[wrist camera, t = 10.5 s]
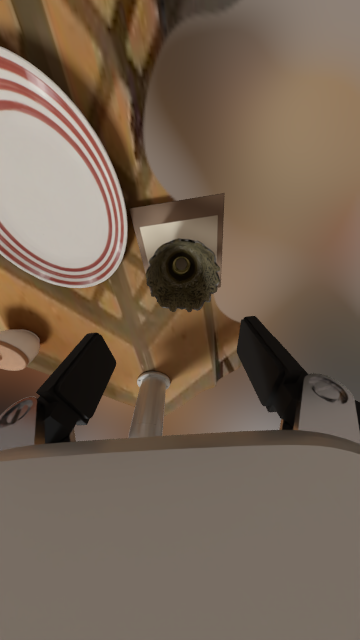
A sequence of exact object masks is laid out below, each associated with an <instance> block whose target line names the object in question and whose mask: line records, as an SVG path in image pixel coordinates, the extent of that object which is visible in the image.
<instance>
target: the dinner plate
mask: <svg viewBox="0 0 360 640" xmlns="http://www.w3.org/2000/svg"><path fill="white" fill-rule="evenodd" d="M127 236H128V221H127V212H126V206H125V201H124V197H123V193H122V189H121V186H120V183H119V180H118V177H117V174H116V172H115V169H114V167H113V165H112V162H111V160H110V158H109V156H108V154H107V152H106V150H105V148H104V146H103V144H102V142H101V141H100V139H99V137H98V136H97V134H96V132H95V131H94V129H93V128H92V126H91V125H90V123H89V122H88V120H87V119H86V118H85V116H84V115H83V114H82V112H81V111H80V110H79V109H78V107H77V106H76V105H75V104H74V103H73V102H72V100H71V99H70V98H69V97H68V96H67V95H66V94H65V93H64V92H63V91H62V90H61V88H60V87H59V86H58V85H57V84H55V83H54V82H53V81H52V80H51V79H50V78H49V77H48V76H47V75H45V74H44V73H43V72H42V71H40V70H39V69H38V68H36V67H35V66H34V65H32V64H31V63H30V62H28V61H27V60H25V59H23V58H22V57H20V56H19V55H17V54H15V53H13V52H11V51H9V50H8V49H5V48H3V47H1V46H0V254H1V255H2V256H4V257H5V258H6V259H8V260H9V261H10V262H12V263H13V264H14V265H16V266H17V267H19V268H21V269H22V270H24V271H26V272H27V273H29V274H31V275H33V276H35V277H37V278H39V279H41V280H44V281H46V282H49V283H52V284H55V285H59V286H63V287H69V288H85V287H90V286H94V285H97V284H99V283H101V282H103V281H105V280H106V279H108V278H109V277H110V276H111V275H112V274H113V273H114V272H115V271H116V269H117V268H118V266H119V265H120V263H121V261H122V259H123V256H124V253H125V249H126V244H127Z"/></svg>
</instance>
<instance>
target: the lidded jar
mask: <svg viewBox="0 0 360 640" xmlns="http://www.w3.org/2000/svg"><path fill="white" fill-rule="evenodd" d="M39 349H40V339H39V337H38V336H37V335H36V334H34V333H33V332H31V331H28V330H25V329H19V330H18V329H11V330H5V331H1V332H0V368H1V369H5V370H13V371H14V370H15V371H16V370H21V369H24V368H25V367H26V366H27V365H28V364H29V363H30V362H31V361H32V360H33V359H34V358H35V356H36V355H37V354H38V352H39Z"/></svg>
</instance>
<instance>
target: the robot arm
mask: <svg viewBox="0 0 360 640" xmlns="http://www.w3.org/2000/svg"><path fill="white" fill-rule="evenodd" d="M237 354H238V356H239V358H240V360H241V362H242V364H243V367H244V369H245V370H246V373H247V375H248V377H249V379H250V381H251V383H252V385H253V387H254V389H255V391H256V394H257V395H258V398H259V400H260V402H261V404H262V405H263V406H266V408H267V410H268V411H269V412H277V413H278V415H279V416H280V418H281V423H280V428H279V430H266V431H240V432H222V433H205V434H187V435H171V436H162V430H163V417H164V404H165V392H166V389H168V388H169V386H170V379H169V377H168V376H166V375H165V374H163V373H160V372H154V371H151V372H145V373H143V374H141V375H140V376H139V377H138V380H137V384H138V386H139V387H140V389H139V394H138V398H137V402H136V406H135V410H134V415H133V419H132V423H131V427H130V432H129V438H124V439H107V440H93V441H78V442H76V440H75V433H74V427H75V425H76V424H77V425H87V423H88V421H89V419H90V418H91V417H92V416H93V414H94V412H95V410H96V408H97V405H98V404H99V401H100V399H101V397H102V395H103V393H104V390H105V388H106V386H107V384H108V382H109V380H110V377H111V375H112V373H113V371H114V369H115V366H116V360H115V359H114V357H113V355H112V353H111V351H110V350H109V348H108V346H107V344H106V343H105V341H104V339H103V337H102V336H101V335H99V334H98V333H89V334H87V335H86V336H85V337H84V338H83V339H82V340H81V341H80V343H79V344H78V345H77V346H76V347H75V348H74V349H73V351H72V352H71V353H70V354H69V355H68V356H67V357H66V359H65V360H64V361H63V362H62V363H61V364H60V365H59V367H58V368H57V369H56V370H55V371H54V372H53V373H52V375H51V376H50V377H49V378H48V379H47V380H46V381H45V383H44V384H43V385H42V386H41V387H40V388H39V390H38V391H37V392H36V393H37V394H39V395H40V397H39V398H38V399H37V398H35V397H27V398H24V399H22V400H20V401H18V402H16V403H15V404H13V405H12V406H10V407H9V408H8V409H7V410H6V411H4V412H3V413H2V414H1V416H0V640H360V402H358V401H356V400H354V398H353V395H352V394H351V393H350V391H349V390H348V389H347V388H346V387H345V386H344V385H342V384H341V383H340V382H338V381H337V380H335V379H333V378H331V377H328V376H325V375H322V374H316V373H313V374H307V372H306V371H305V370H304V369H303V368H302V367H301V366H300V365H299V363H298V362H297V361H296V360H295V359H294V358H293V357H292V356H291V355H290V353H289V352H288V351H287V350H286V349H285V348H284V347H283V346H282V345H281V344H280V342H279V341H278V340H277V339H276V338H275V337H274V336H273V335H272V334H271V333H270V332H269V331H268V330H267V329H266V328H265V326H264V325H263V324H262V323H261V322H260V321H259V320H258V319H257V318H256V317H255V316H250V317H245V318H244V319H243V320H241V325H240V332H239V339H238V345H237Z"/></svg>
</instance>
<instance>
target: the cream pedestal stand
mask: <svg viewBox="0 0 360 640" xmlns="http://www.w3.org/2000/svg"><path fill="white" fill-rule="evenodd" d="M129 210H130V214H131V218H132V222H133V226H134V230H135V234H136V237H137V241H138V245H139V249H140V253H141V257H142V261H143V264H144V268H145V272H146V271H147V269H148V267H149V266H150V264H149V263H148V262H149V260H150V258H151V257H153V255H154V253H155V251H156V250H157V249H158V248H159V247H160V246H161V245H163V244H165V243H167V242H170V241H172V240H174V239H178V238H180V239H190V240H194V241H196V240H197V241H200V242H202V243H203V244H204V245H205V246H206V247H208V248H209V249H210V250H212V251H213V252H214V254H215V256H216V263H217V264H218V266H219V267H220V270H221V264H222V239H223V215H224V214H223V213H224V193H222V194H216V195H210V196H204V197H198V198H192V199H185V200H179V201H173V202H167V203H161V204H155V205H149V206H142V207H136V208H130V209H129ZM186 266H187V262H186V260H185V259H183V258H180V259H178V260H177V261H176V267H177V268H178V269H179V270H183V269H185V268H186ZM217 273H218V275H219V278H220V283H219V284H218V285H217V287H220V286H221V271H219V272H217ZM150 291H151V288H150Z"/></svg>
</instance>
